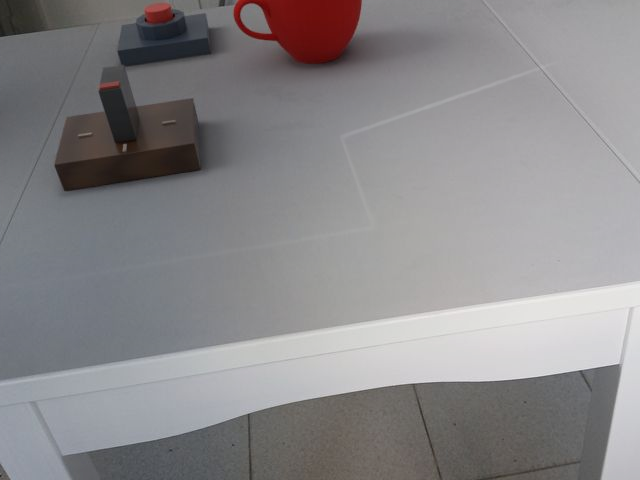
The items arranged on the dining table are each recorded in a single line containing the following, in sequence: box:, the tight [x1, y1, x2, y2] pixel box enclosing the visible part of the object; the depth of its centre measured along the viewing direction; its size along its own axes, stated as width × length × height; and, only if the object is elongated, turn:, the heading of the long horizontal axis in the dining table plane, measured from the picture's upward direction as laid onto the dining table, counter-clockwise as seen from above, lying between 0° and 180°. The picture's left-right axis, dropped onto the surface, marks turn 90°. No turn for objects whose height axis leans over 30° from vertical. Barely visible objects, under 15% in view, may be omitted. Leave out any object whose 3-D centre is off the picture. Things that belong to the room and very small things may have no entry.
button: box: [143, 2, 174, 23], centre depth 98 cm, size 4×4×2 cm
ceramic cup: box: [232, 0, 363, 64], centre depth 91 cm, size 13×17×10 cm
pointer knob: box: [97, 64, 139, 143], centre depth 74 cm, size 6×2×6 cm, turn 10°
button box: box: [116, 8, 212, 67], centre depth 100 cm, size 12×10×4 cm
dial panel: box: [53, 97, 202, 192], centre depth 77 cm, size 14×11×3 cm
